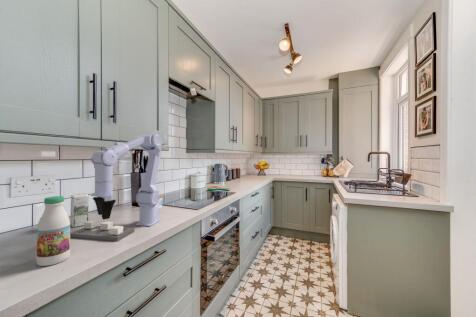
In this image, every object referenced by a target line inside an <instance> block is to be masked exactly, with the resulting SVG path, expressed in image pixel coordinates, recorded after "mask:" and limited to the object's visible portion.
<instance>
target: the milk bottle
mask: <svg viewBox="0 0 476 317" xmlns="http://www.w3.org/2000/svg"><path fill="white" fill-rule="evenodd" d="M43 203H44V206H45V207H44V211H43V213H42V215H41V217H40V218H39V221H38V223H37V225H36V226H37V227H36V228H37V229H36V264H37V266H40V267H47V266H48V267H49V266H53V265H56V264H60V263H63V262H65V261H66V260H68V259H69V258H70V256H71V237H70V233H71V219H70V217H69V215H68V213H67V212H66V210H65V207H64V204H65V196H63V195H53V196H48V197H45V198H44V200H43Z"/></svg>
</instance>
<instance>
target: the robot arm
mask: <svg viewBox="0 0 476 317" xmlns="http://www.w3.org/2000/svg"><path fill="white" fill-rule="evenodd" d="M139 146H140V147H141V148H142V149H143V151H145V152H146V153H147V154H148V159H147V163H146V170H145V175H144V180H143V185H142V186H141V187H140V188H139V189H138V192H137V193H136V195H135V202H136V203H137V204H138V206H139V221H138V222H137V223H135V224H134V225H135V226H141V227H151V226H153V225H155V224H156V223H158V222H160V221H161V219H160V207H159V205H158V203H159V202H160V189H158V188H157V186H156V184H157V179H158V172H159V166H160V162H161V161H160V160H161V154H162V146H163V139H162V138H161V136H160V134H157V133H155V134H140V135H137V136H136V137H134V138H132V139H130V140H129V141H126V142H120V141H119V142H118V141H117V142H114V144H113V145H112V146H111V145H110V146H106V147H103V148H104V149H103V150H96V151H95V152H93V154H92V156H91V157H90V161H91V163H92V164H93V169H94V193H91V194H90V196H91V197H92V200H93V201H94V203H95V206H96V211H97V214H98V216H101V218H102V220H103V221H104V220H109V219H110V218H111V214H112V210H113V207H114V205H115V203H116V202H117V200H116V199H112V196H113V195H114V191H113V188H114V187H113V182H114V180H113V178H114V176H113V174H114V173H113V172H114V171H113V169H114V168H113V167H114V166H113V165H115V164H116V162H117V160H119V159H122V158H123V157H125V156H127V155H128V154H129V152H130V151H131V150H133V149H135V148H137V147H139Z"/></svg>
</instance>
